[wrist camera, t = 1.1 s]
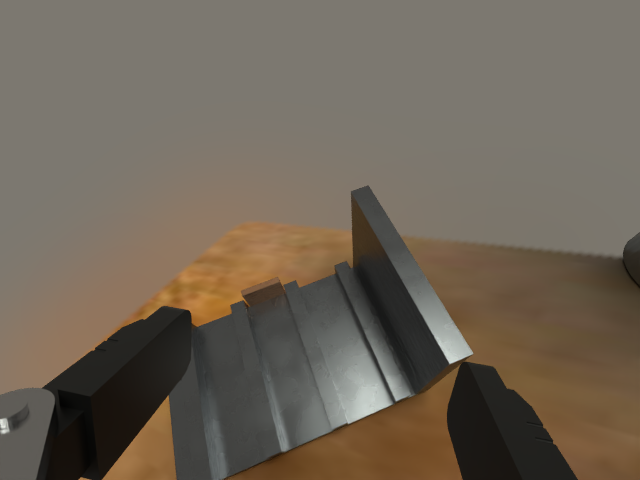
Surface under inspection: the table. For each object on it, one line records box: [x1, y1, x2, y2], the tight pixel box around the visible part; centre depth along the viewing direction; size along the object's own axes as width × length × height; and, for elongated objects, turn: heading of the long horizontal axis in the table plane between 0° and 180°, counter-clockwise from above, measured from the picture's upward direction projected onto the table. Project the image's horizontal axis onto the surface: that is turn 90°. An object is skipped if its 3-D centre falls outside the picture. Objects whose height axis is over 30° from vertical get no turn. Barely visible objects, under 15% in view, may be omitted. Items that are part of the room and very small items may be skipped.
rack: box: [169, 186, 473, 480], centre depth 27 cm, size 23×15×14 cm, turn 111°
